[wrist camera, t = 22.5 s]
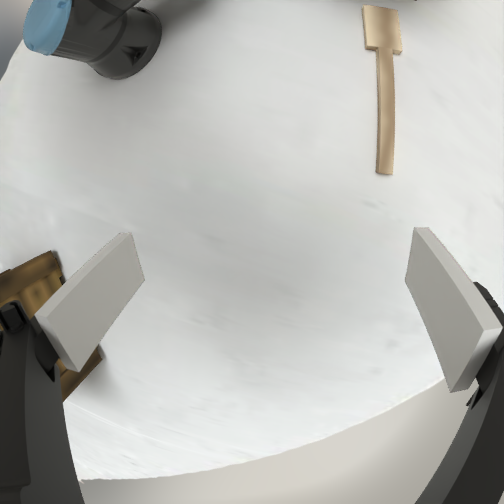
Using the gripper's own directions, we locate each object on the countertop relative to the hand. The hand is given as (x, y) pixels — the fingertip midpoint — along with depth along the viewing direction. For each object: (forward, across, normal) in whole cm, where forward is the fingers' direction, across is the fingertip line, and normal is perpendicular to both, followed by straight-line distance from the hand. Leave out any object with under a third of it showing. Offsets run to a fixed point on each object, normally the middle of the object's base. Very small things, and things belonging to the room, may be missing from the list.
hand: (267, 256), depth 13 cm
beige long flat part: (+35, +15, +10) cm, 40 cm away
